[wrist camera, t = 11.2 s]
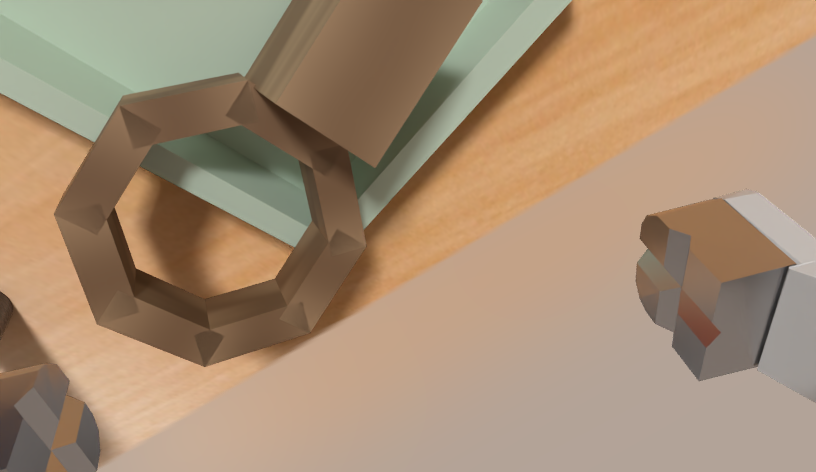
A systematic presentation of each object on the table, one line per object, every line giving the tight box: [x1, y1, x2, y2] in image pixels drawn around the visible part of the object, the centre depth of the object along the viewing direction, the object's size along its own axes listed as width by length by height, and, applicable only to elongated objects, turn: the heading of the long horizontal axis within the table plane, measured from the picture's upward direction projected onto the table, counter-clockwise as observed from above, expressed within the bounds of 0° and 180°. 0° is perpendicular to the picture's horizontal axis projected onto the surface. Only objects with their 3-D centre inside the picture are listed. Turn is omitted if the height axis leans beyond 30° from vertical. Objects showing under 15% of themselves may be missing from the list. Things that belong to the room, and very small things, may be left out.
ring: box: [54, 0, 483, 367], centre depth 19 cm, size 8×13×6 cm, turn 140°
